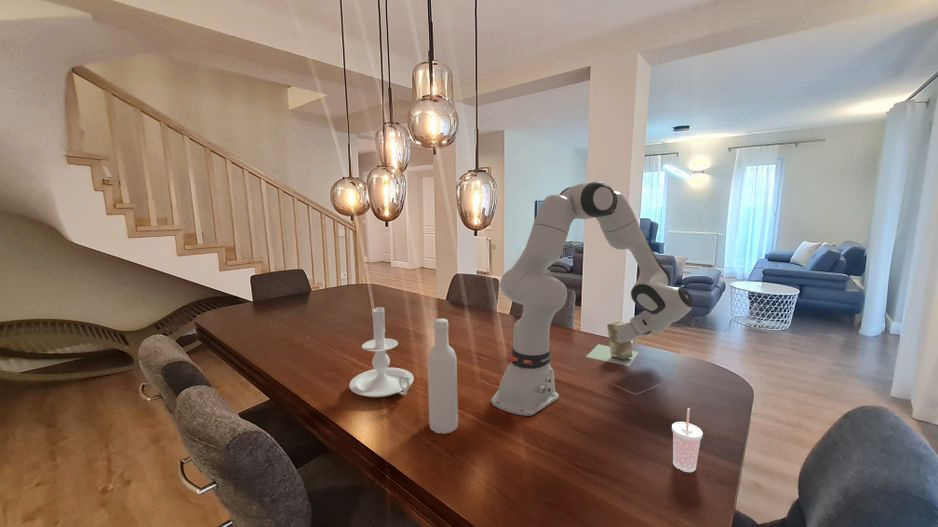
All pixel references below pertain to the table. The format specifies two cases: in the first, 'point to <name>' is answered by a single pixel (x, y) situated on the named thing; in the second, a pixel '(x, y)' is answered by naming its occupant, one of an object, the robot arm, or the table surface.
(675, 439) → the beverage cup
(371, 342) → the candlestick
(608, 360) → the mat
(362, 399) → the table surface
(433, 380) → the bottle
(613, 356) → the block
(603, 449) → the table surface
